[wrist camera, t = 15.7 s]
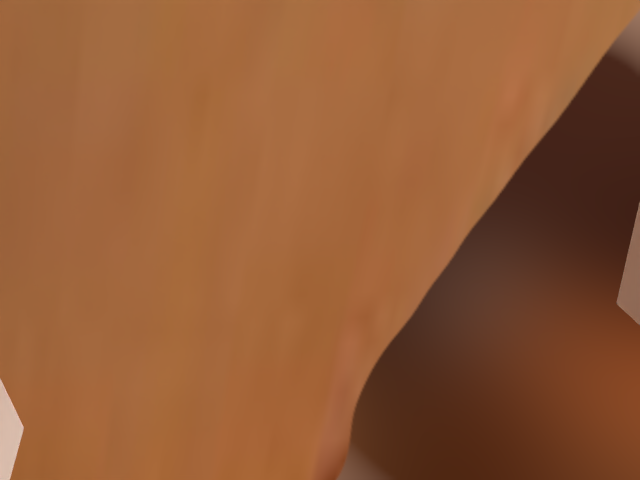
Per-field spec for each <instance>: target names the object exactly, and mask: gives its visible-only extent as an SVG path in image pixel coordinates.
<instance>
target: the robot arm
mask: <svg viewBox="0 0 640 480" xmlns="http://www.w3.org/2000/svg"><path fill="white" fill-rule="evenodd" d="M617 305H618V306H619V307H621V308H622V309H623V310H624V311H625V312H626V313H627V314H628V315H629V316H630V317H631V318H633V319H634V320H635V321H636V322H637V323H638V324H639V325H640V203H639V208H638V212H637V216H636V221H635V225H634V229H633V234H632V238H631V242H630V247H629V251H628V255H627V260H626V264H625V268H624V273H623V277H622V282H621V286H620V290H619V295H618V299H617ZM23 429H24V427H23V425H22V423H21V421H20V419H19V417H18V415H17V413H16V410H15V408H14V406H13V404H12V402H11V400H10V398H9V396H8V394H7V392H6V390H5V388H4V385H3V383H2V381H1V379H0V480H10V477H11V473H12V469H13V466H14V462H15V458H16V455H17V451H18V447H19V444H20V440H21V436H22V433H23Z"/></svg>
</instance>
